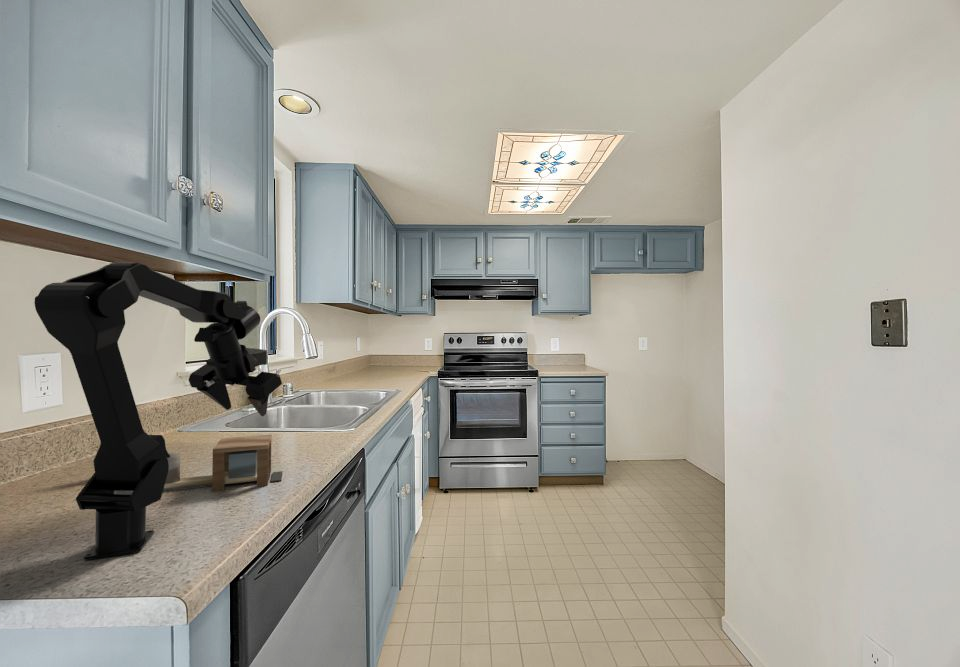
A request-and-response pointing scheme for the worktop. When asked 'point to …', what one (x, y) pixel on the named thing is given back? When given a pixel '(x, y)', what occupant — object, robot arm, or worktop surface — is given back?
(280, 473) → the grey flat block
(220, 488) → the tunnel
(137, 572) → the worktop surface
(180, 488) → the rail
